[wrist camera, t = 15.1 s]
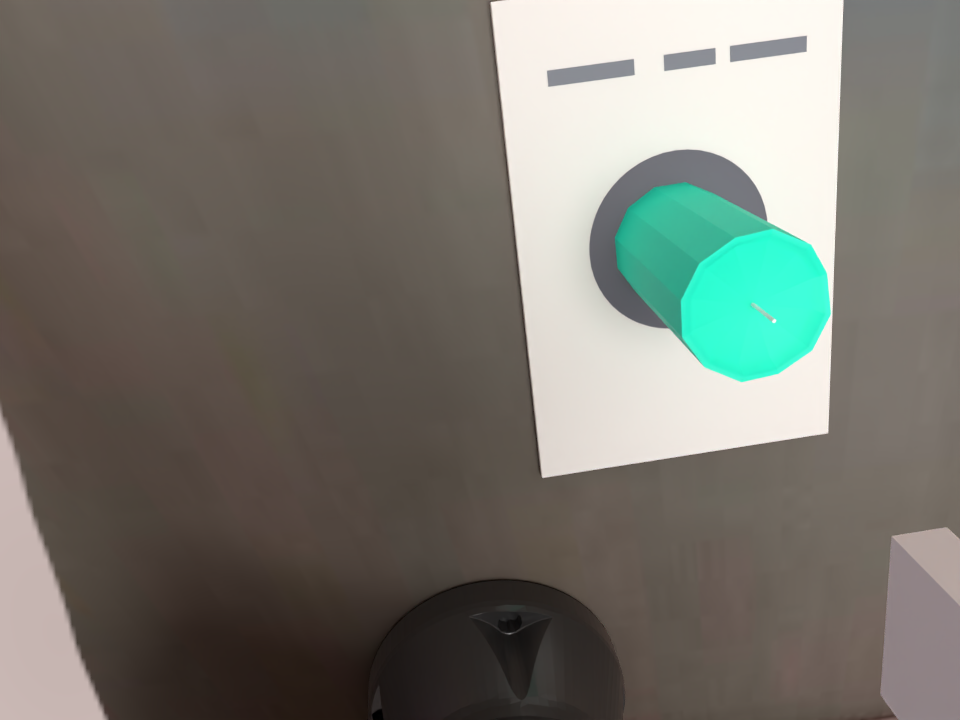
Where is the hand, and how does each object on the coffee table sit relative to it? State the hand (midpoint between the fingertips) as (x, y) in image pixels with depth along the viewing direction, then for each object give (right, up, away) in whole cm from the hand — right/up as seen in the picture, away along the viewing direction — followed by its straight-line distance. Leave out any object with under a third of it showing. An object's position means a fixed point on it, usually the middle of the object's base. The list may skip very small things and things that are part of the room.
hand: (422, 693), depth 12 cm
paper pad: (+11, +11, +31) cm, 35 cm away
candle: (+10, +10, +31) cm, 34 cm away
